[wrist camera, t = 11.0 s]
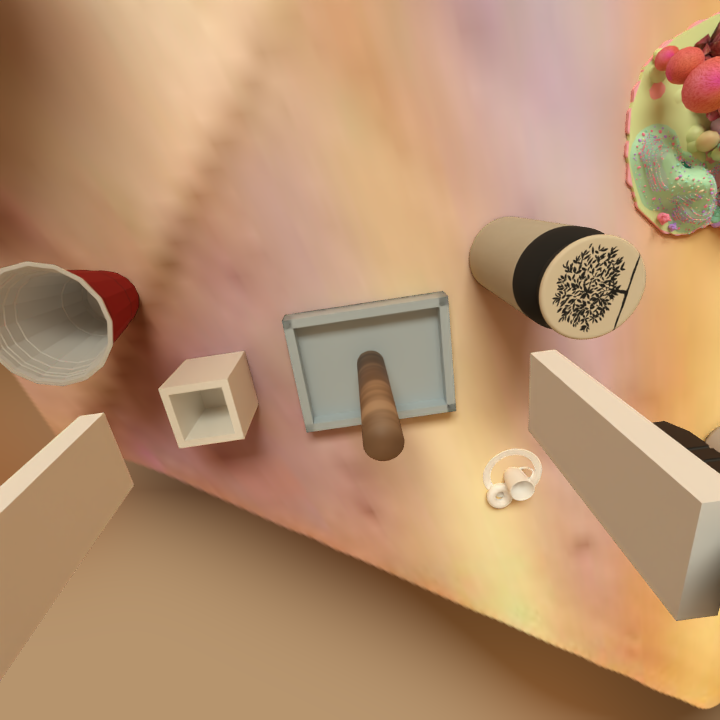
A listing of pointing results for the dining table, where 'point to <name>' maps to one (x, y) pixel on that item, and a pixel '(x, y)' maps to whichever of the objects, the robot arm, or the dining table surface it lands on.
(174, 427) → the square open box
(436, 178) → the dining table surface
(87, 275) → the plastic cup
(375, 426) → the dowel
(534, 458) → the cream curved piece
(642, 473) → the robot arm
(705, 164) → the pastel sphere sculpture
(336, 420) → the tray
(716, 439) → the can
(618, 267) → the travel mug
